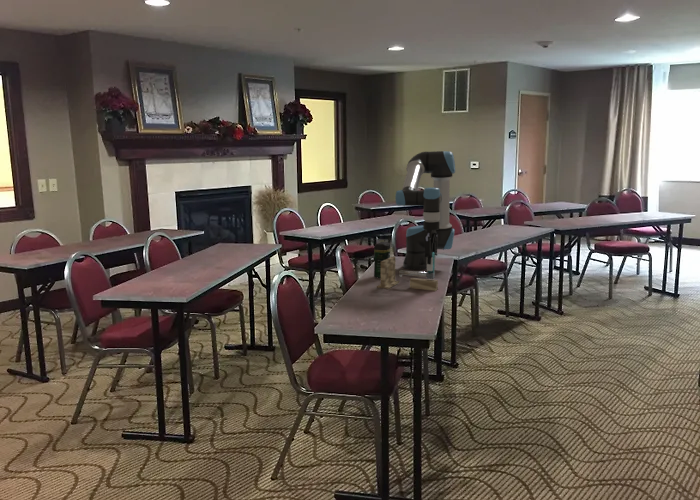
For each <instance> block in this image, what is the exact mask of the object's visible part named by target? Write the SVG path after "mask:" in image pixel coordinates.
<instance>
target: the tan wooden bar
mask: <svg viewBox="0 0 700 500" xmlns="http://www.w3.org/2000/svg"><path fill="white" fill-rule="evenodd" d="M409 289H416V290H425V291H434V292H435V291H437V290H439V279H427V278H426V279H425V278H416V277H411V278H409Z"/></svg>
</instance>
